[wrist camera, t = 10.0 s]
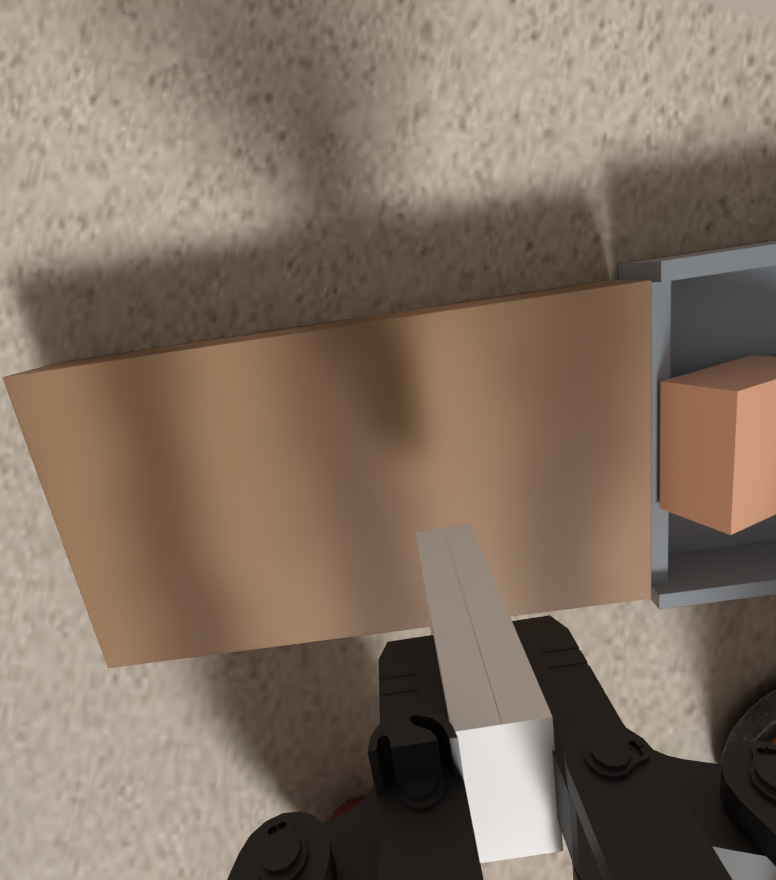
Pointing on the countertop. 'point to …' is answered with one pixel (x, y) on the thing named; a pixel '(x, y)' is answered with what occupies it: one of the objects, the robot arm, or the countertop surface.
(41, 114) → the countertop surface
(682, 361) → the box
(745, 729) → the canister
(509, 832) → the robot arm
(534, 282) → the countertop surface
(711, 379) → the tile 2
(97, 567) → the tan wooden flat box
